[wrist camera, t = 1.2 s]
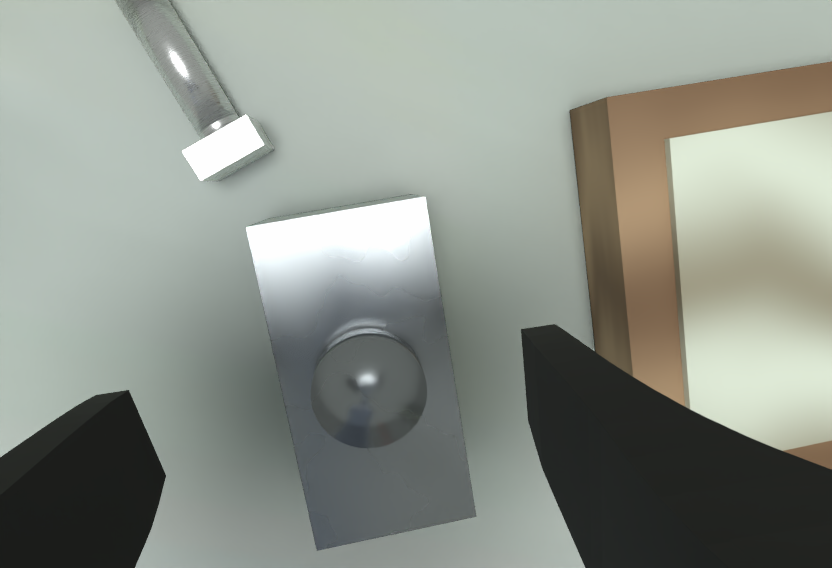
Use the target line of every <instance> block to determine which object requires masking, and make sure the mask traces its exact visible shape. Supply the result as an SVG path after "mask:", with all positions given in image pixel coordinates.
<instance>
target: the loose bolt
mask: <svg viewBox="0 0 832 568" xmlns="http://www.w3.org/2000/svg"><path fill="white" fill-rule="evenodd" d="M115 2H116V4H117V5H118V7H119V8H120V10H121V12H122V13H123V15H124V16H125V18H126V20H127V21H128V23H129V24H130V26H131V28H132V29H133V31H134V32H135V34H136V36H137V37H138V39H139V40H140V42H141V44H142V45H143V47H144V48H145V50H146V52H147V53H148V55H149V57H150V58H151V60H152V61H153V63H154V65H155V66H156V68H157V69H158V71H159V73H160V74H161V76H162V77H163V79H164V81H165V82H166V84H167V85H168V87H169V89H170V90H171V92H172V93H173V95H174V97H175V98H176V100H177V101H178V103H179V105H180V106H181V108H182V109H183V111H184V113H185V114H186V116H187V117H188V119H189V121H190V122H191V124H192V126H193V127H194V129H195V130H196V132H197V134H198V135H199V137H200V138H201V139H202V140H200V141H199V142H197V143H195V144H193V145H192V146H190V147H188V148H186V149H185V150H183V151H182V152H183V154H184V155H185V157H186V159H187V160H188V162H189V163H190V165H191V166H192V168H193V170H194V171H195V173H196V174H197V176H198V178H199V179H200V181H220V180H222V179H223V178H225V177H227V176H229V175H230V174H232V173H234V172H236V171H237V170H239V169H241V168H243V167H244V166H246V165H248V164H250V163H251V162H253V161H255V160H257V159H258V158H260V157H262V156H264V155H265V154H267V153H269V152H271V151H273V150H274V147H273V145H272V144H271V142H270V140H269V139H268V137H267V135H266V134H265V132H264V130H263V128H262V127H261V125H260V123H259V122H257V121H256V120H254V119H253V118H251V117H249V116H248V115H244V116H243V117H241V118H239V116H238V115H237V113H236V111H235V110H234V108H233V106H232V105H231V103H230V101H229V100H228V98H227V96H226V95H225V93H224V91H223V90H222V88H221V86H220V85H219V83H218V81H217V80H216V78H215V76H214V75H213V73H212V71H211V70H210V68H209V66H208V65H207V63H206V61H205V60H204V58H203V56H202V55H201V53H200V52H199V50H198V48H197V47H196V45H195V43H194V42H193V40H192V38H191V37H190V35H189V33H188V32H187V30H186V28H185V27H184V25H183V23H182V22H181V20H180V18H179V17H178V15H177V13H176V12H175V10H174V8H173V7H172V5H171V3H170V2H169V0H115Z"/></svg>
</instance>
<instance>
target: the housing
mask: <svg viewBox="0 0 832 568" xmlns="http://www.w3.org/2000/svg"><path fill="white" fill-rule="evenodd" d="M246 231H247V235H248V240H249V245H250V249H251V254H252V258H253V263H254V267H255V272H256V276H257V281H258V285H259V290H260V294H261V299H262V304H263V308H264V313H265V317H266V322H267V326H268V331H269V335H270V340H271V344H272V349H273V354H274V358H275V363H276V367H277V372H278V376H279V381H280V385H281V390H282V394H283V399H284V403H285V408H286V413H287V417H288V422H289V426H290V431H291V435H292V440H293V444H294V449H295V453H296V458H297V463H298V467H299V472H300V476H301V481H302V485H303V490H304V494H305V499H306V503H307V508H308V512H309V517H310V522H311V526H312V531H313V535H314V540H315V544H316V549H317V551H318V550H322V549H327V548H332V547H336V546H341V545H346V544H350V543H355V542H360V541H364V540H369V539H374V538H378V537H383V536H388V535H392V534H397V533H402V532H406V531H411V530H416V529H420V528H425V527H430V526H434V525H439V524H444V523H448V522H453V521H458V520H462V519H467V518H472V517H476V512H475V505H474V499H473V493H472V487H471V480H470V474H469V468H468V461H467V455H466V449H465V443H464V436H463V430H462V424H461V417H460V411H459V405H458V398H457V392H456V386H455V380H454V373H453V367H452V361H451V354H450V348H449V342H448V336H447V329H446V323H445V317H444V310H443V304H442V298H441V292H440V285H439V279H438V273H437V266H436V260H435V254H434V248H433V241H432V235H431V229H430V222H429V216H428V210H427V204H426V197H425V196H418V195H411V194H410V195H405V196H399V197H393V198H387V199H381V200H375V201H369V202H363V203H357V204H351V205H345V206H340V207H334V208H328V209H322V210H316V211H310V212H304V213H298V214H292V215H286V216H280V217H275V218H269V219H266V220H263V221H261V222H258V223H255V224H253V225H250V226H247V227H246Z"/></svg>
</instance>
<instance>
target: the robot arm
mask: <svg viewBox="0 0 832 568" xmlns="http://www.w3.org/2000/svg"><path fill="white" fill-rule="evenodd" d="M521 334H522V346H523V359H524V372H525V385H526V398H527V411H528V421H529V425H530V428H531V432H532V435H533V439H534V442H535V446H536V449H537V452H538V455H539V459H540V462H541V465H542V469H543V471H544V473H545V476H546V478H547V480H548V483H549V485H550V487H551V490H552V492H553V494H554V497H555V499H556V501H557V504H558V506H559V508H560V511H561V513H562V515H563V517H564V520H565V522H566V524H567V527H568V529H569V531H570V533H571V536H572V538H573V540H574V543H575V545H576V547H577V549H578V552H579V554H580V556H581V559H582V561H583V563H584V565H585V568H832V469H829V468H826V467H824V466H821V465H818V464H816V463H813V462H810V461H808V460H805V459H802V458H800V457H797V456H795V455H792V454H789V453H787V452H784V451H781V450H779V449H776V448H774V447H771V446H769V445H766V444H764V443H762V442H759V441H757V440H754V439H752V438H750V437H747V436H745V435H743V434H741V433H739V432H737V431H734V430H732V429H730V428H728V427H726V426H724V425H721V424H719V423H717V422H715V421H713V420H711V419H709V418H706V417H704V416H702V415H700V414H698V413H696V412H694V411H692V410H691V409H689V408H687V407H685V406H683V405H681V404H679V403H677V402H676V401H674V400H672V399H670V398H669V397H667V396H665V395H663V394H661V393H660V392H658V391H656V390H654V389H652V388H651V387H649V386H647V385H646V384H644V383H642V382H641V381H639V380H637V379H636V378H634V377H633V376H631V375H629V374H628V373H626V372H625V371H623V370H621V369H620V368H618V367H617V366H615V365H614V364H612V363H611V362H609V361H608V360H606V359H605V358H603V357H602V356H600V355H599V354H597V353H596V352H594V351H593V350H591V349H590V348H589V347H587V346H586V345H584V344H583V343H581V342H580V341H579V340H577V339H576V338H574V337H573V336H571V335H570V334H569V333H567V332H566V331H564V330H563V329H561V328H560V327H558V326H557V325H555V324H553V325H547V326H540V327H534V328H527V329H521ZM165 478H166V475H165V472H164V470H163V468H162V465H161V463H160V461H159V459H158V456H157V454H156V452H155V449H154V447H153V445H152V442H151V440H150V438H149V436H148V433H147V431H146V429H145V426H144V424H143V422H142V420H141V417H140V415H139V413H138V410H137V408H136V406H135V403H134V401H133V399H132V397H131V394H130V392H129V390H126V391H120V392H113V393H107V394H101V395H95V396H94V397H92V398H90V399H88V400H86V401H84V402H83V403H81V404H79V405H78V406H76V407H74V408H73V409H71V410H70V411H68V412H66V413H65V414H63V415H62V416H60V417H59V418H57V419H56V420H54V421H53V422H51V423H50V424H48V425H47V426H45V427H44V428H42V429H41V430H40V431H38V432H37V433H35V434H34V435H32V436H31V437H29V438H28V439H26V440H25V441H24V442H22V443H21V444H19V445H18V446H16V447H15V448H13V449H12V450H11V451H9V452H8V453H6V454H5V455H3V456H2V457H0V568H135V566H136V563H137V561H138V559H139V556H140V554H141V552H142V549H143V547H144V545H145V543H146V540H147V538H148V535H149V533H150V530H151V528H152V525H153V521H154V518H155V515H156V511H157V508H158V505H159V501H160V497H161V493H162V489H163V485H164V481H165Z"/></svg>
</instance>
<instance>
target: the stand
mask: <svg viewBox="0 0 832 568" xmlns="http://www.w3.org/2000/svg"><path fill="white" fill-rule="evenodd" d="M570 118H571V127H572V136H573V146H574V155H575V164H576V174H577V183H578V192H579V202H580V211H581V220H582V230H583V239H584V248H585V258H586V267H587V276H588V286H589V295H590V304H591V314H592V323H593V332H594V342H595V351H596V353H597V354H599V355H600V356H602V357H603V358H605V359H606V360H608V361H609V362H611V363H612V364H614V365H615V366H617V367H618V368H620V369H621V370H623V371H625V372H626V373H628V374H629V375H631V376H633V377H634V378H636V379H637V380H639V381H641V382H642V383H644V384H646V385H647V386H649V387H651V388H652V389H654V390H656V391H658V392H660V393H661V394H663V395H665V396H667V397H669V398H670V399H672V400H674V401H676V402H677V403H679V404H681V405H683V406H685V407H687V408H689V409H691V410H692V411H694V412H696V413H698V414H700V415H702V416H704V417H706V418H709V419H711V420H713V421H715V422H717V423H719V424H721V425H724V426H726V427H728V428H730V429H732V430H734V431H737V432H739V433H741V434H743V435H745V436H747V437H750V438H752V439H754V440H757V441H759V442H762V443H764V444H766V445H769V446H771V447H774V448H776V449H779V450H781V451H784V452H787V453H789V454H792V455H795V456H797V457H800V458H802V459H805V460H808V461H810V462H813V463H816V464H818V465H821V466H824V467H826V468H829V469H832V62H826V63H820V64H814V65H807V66H801V67H795V68H788V69H782V70H776V71H770V72H763V73H757V74H751V75H744V76H738V77H732V78H725V79H719V80H713V81H707V82H700V83H694V84H688V85H681V86H675V87H669V88H662V89H656V90H650V91H644V92H637V93H631V94H625V95H618V96H612V97H606V98H603V99H601V100H598V101H595V102H592V103H589V104H586V105H584V106H581V107H578V108H575V109H572V110H570Z"/></svg>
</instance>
